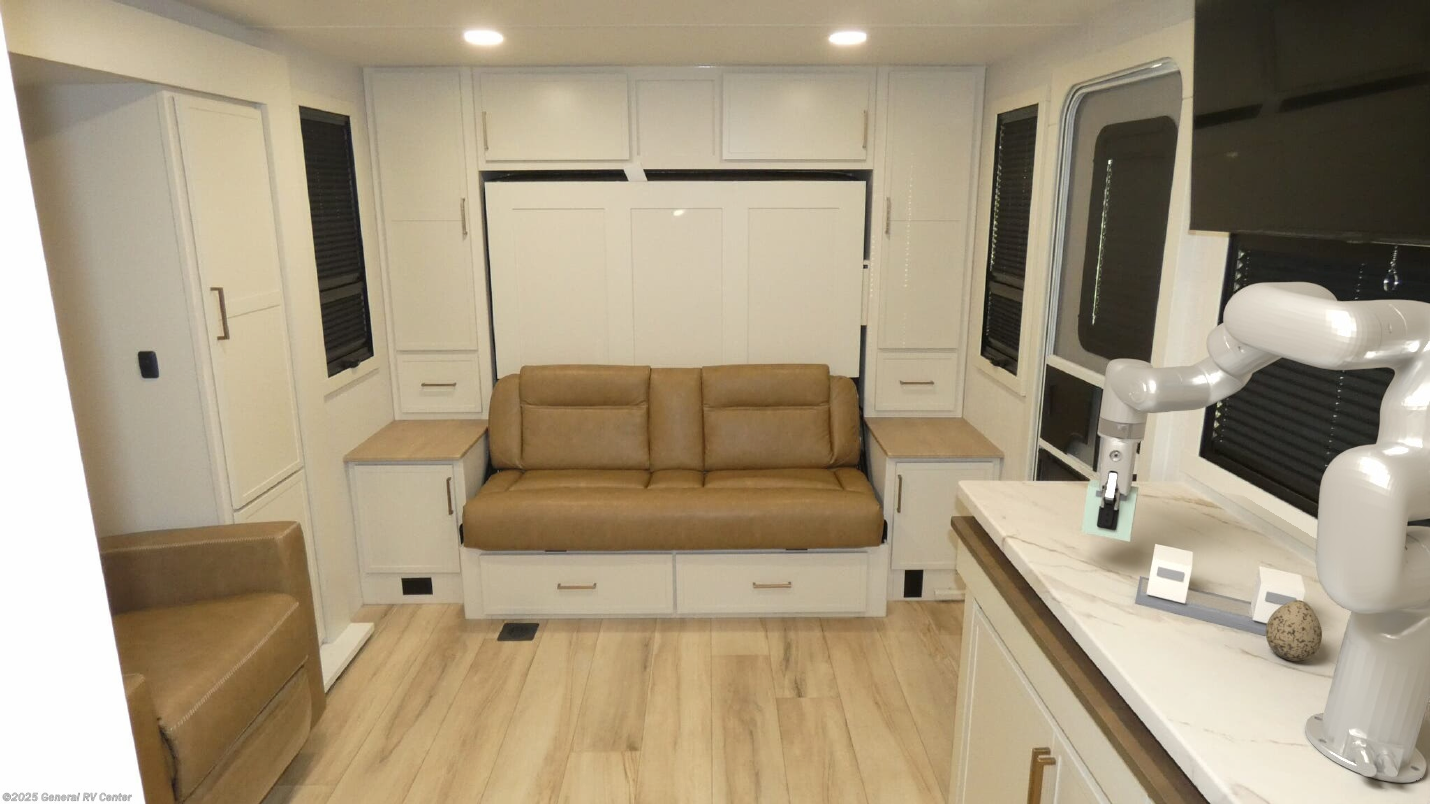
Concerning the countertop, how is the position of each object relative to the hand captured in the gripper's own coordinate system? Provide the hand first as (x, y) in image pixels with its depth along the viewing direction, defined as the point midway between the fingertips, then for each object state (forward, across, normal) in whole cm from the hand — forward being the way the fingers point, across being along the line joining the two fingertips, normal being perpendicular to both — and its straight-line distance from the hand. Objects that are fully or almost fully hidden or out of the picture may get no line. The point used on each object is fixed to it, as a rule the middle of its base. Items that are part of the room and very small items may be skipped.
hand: (1108, 522), depth 148 cm
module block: (+2, 0, 0) cm, 2 cm away
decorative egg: (+13, -11, -28) cm, 33 cm away
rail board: (+12, 0, -19) cm, 23 cm away
